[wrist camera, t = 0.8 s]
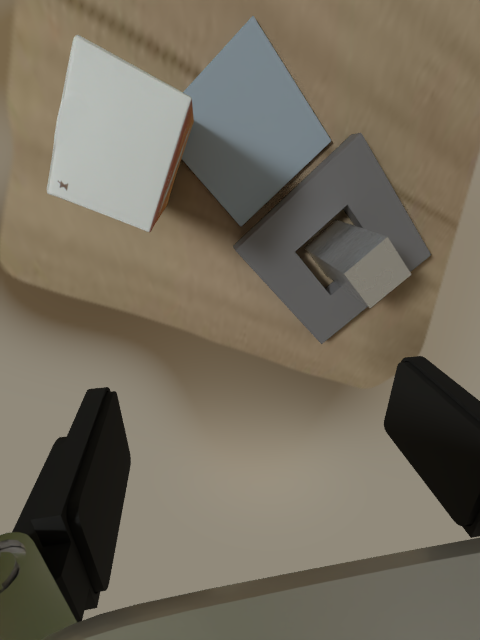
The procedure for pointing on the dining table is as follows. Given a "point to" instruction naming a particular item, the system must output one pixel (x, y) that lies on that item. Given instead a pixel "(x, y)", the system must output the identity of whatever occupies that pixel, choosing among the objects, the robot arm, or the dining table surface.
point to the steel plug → (358, 261)
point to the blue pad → (249, 125)
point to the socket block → (310, 216)
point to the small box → (117, 137)
